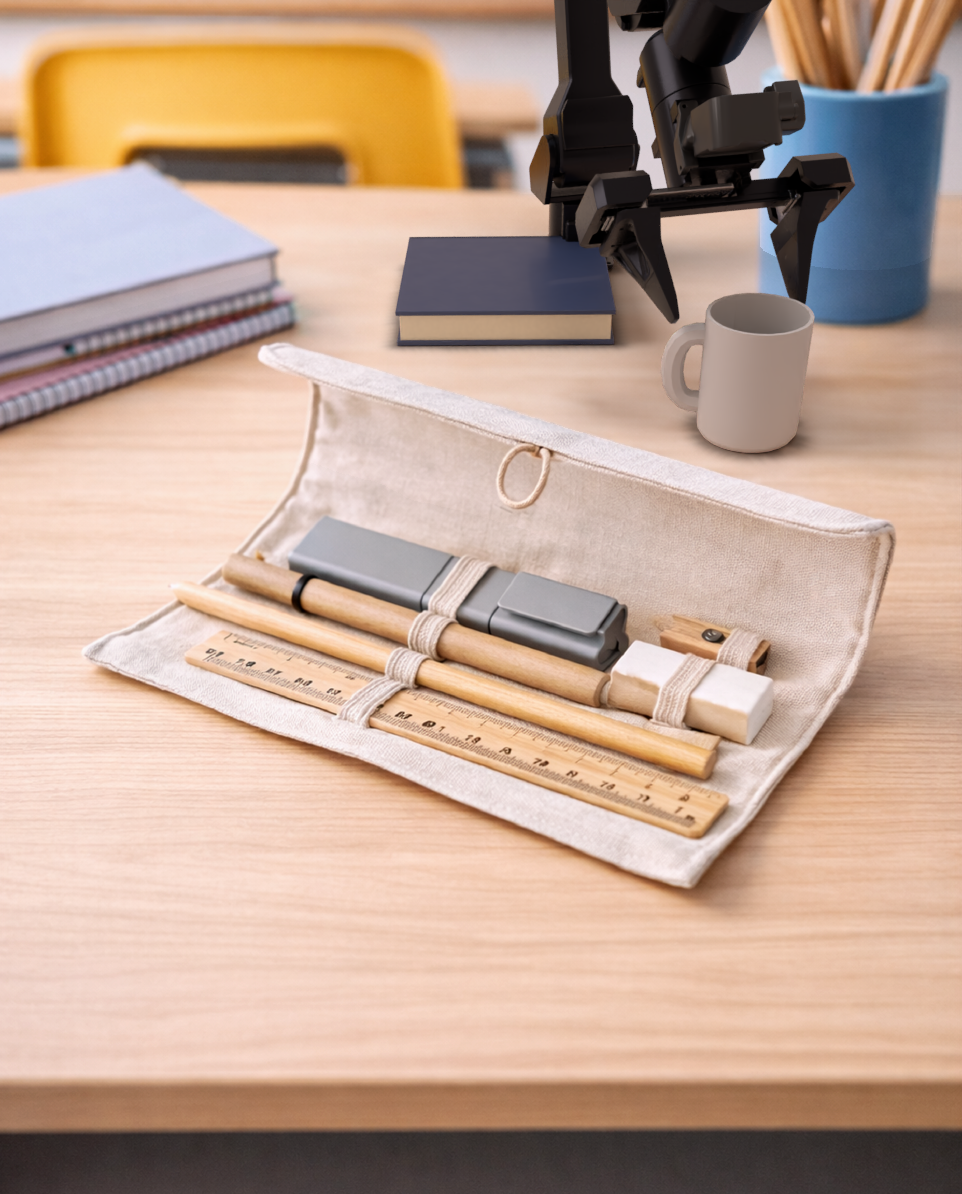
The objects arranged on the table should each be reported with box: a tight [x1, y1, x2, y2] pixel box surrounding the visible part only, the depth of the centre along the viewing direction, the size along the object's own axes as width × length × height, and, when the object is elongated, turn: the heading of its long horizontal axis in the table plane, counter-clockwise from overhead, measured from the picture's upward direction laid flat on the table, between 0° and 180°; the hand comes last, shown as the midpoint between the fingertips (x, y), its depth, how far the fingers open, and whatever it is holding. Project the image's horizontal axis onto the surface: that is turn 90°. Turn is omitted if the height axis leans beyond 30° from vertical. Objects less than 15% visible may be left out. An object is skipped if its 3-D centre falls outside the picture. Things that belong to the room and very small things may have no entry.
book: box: [394, 235, 617, 347], centre depth 105 cm, size 18×18×3 cm
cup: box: [660, 292, 816, 454], centre depth 84 cm, size 7×10×9 cm
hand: (738, 314), depth 82 cm, fingers open, 9 cm apart
